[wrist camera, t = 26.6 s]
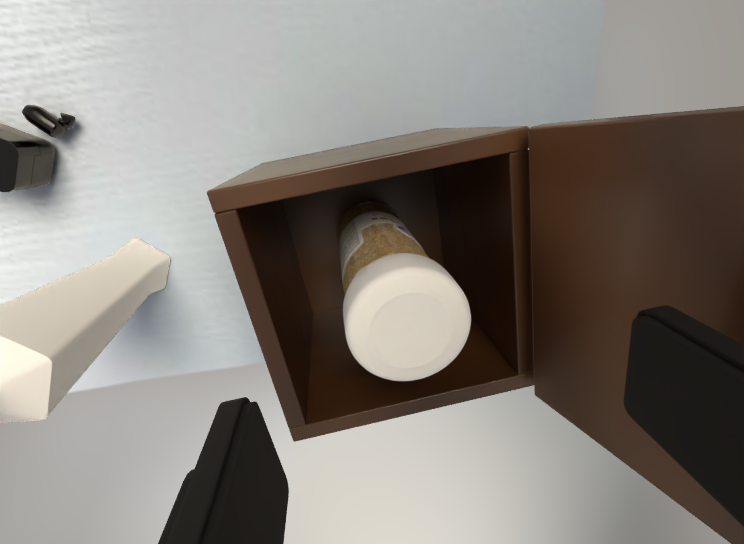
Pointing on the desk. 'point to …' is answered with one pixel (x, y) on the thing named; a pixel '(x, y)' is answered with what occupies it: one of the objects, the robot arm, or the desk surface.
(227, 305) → the desk surface
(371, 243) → the sprinkles bottle
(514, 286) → the chest
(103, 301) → the white faceted vase
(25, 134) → the wireless earbuds
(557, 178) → the lid
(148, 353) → the desk surface
